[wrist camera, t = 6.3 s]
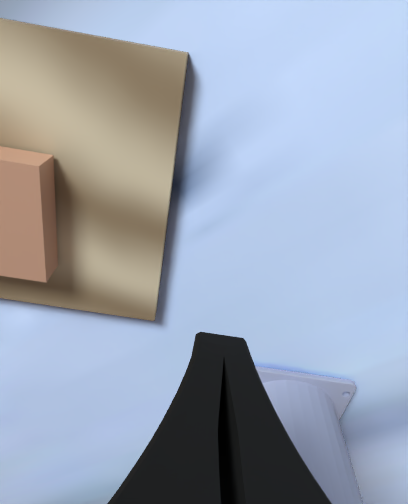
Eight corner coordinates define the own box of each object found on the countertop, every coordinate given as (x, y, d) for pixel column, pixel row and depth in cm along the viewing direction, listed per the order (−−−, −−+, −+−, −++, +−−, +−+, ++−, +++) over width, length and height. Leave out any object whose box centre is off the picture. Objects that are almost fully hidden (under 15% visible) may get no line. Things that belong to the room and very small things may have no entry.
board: (156, 312, 23) (154, 320, 22) (-65, 278, 22) (-74, 287, 22) (188, 52, 16) (187, 53, 15) (-135, -7, 15) (-152, -9, 14)
